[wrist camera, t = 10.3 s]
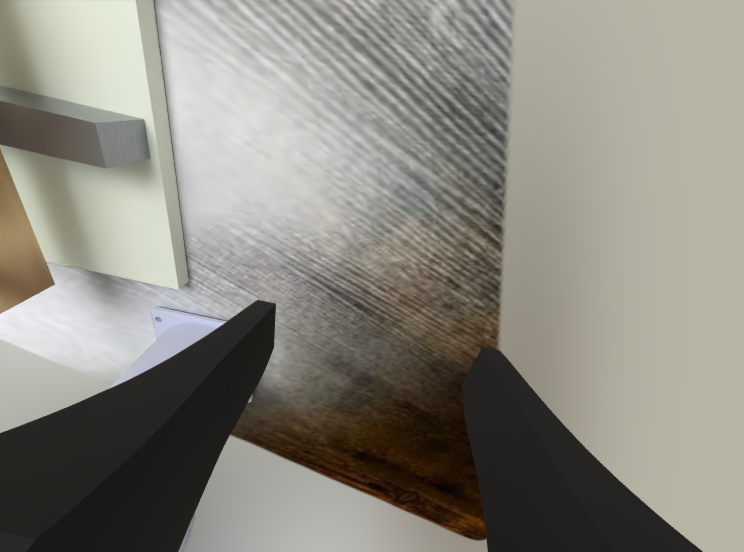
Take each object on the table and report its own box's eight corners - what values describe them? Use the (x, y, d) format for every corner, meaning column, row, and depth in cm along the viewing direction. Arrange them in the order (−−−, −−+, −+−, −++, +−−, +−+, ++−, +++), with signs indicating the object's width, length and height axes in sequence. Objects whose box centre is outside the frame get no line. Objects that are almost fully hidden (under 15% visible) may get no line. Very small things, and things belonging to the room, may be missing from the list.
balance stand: (188, 281, 23) (148, 315, 19) (-3, 239, 22) (-81, 267, 18) (138, -120, 12) (32, -209, 9) (-219, -215, 12) (-488, -351, 8)
